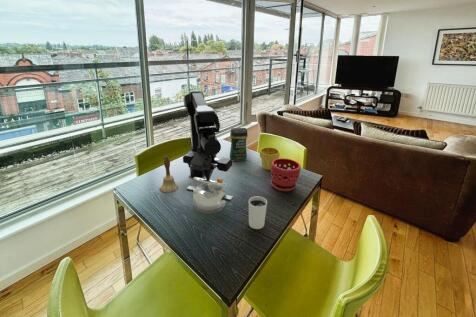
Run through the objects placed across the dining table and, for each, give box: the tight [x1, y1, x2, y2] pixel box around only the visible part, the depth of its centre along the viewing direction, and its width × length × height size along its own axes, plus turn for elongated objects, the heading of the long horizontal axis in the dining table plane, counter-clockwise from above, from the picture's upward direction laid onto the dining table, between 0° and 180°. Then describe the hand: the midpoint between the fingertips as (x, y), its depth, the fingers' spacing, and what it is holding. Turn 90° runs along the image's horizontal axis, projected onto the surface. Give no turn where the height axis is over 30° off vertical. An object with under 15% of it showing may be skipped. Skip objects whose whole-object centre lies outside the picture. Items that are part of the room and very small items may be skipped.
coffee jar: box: [229, 127, 249, 162], centre depth 143 cm, size 10×8×19 cm
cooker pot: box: [185, 183, 234, 215], centre depth 105 cm, size 20×14×6 cm
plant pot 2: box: [270, 157, 302, 192], centre depth 117 cm, size 13×13×12 cm
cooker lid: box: [193, 177, 227, 187], centre depth 102 cm, size 13×13×2 cm
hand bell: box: [159, 155, 179, 193], centre depth 114 cm, size 8×8×16 cm
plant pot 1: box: [259, 146, 281, 171], centre depth 135 cm, size 10×10×10 cm
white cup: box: [248, 195, 268, 230], centre depth 93 cm, size 7×7×10 cm
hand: (208, 179), depth 101 cm, fingers closed, pressing on cooker lid
